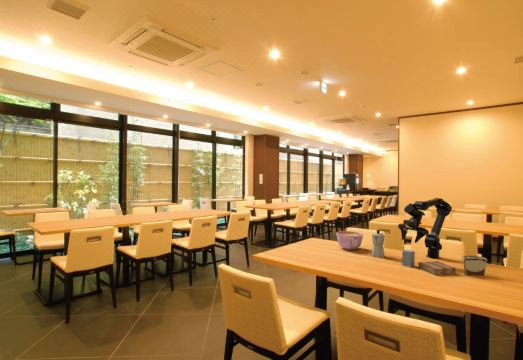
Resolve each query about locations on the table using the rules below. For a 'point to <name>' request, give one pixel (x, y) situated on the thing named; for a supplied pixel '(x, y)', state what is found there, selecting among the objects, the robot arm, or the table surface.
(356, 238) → the bowl of food
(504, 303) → the table surface
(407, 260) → the slate block
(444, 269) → the walnut block
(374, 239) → the coffee maker
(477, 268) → the food container
